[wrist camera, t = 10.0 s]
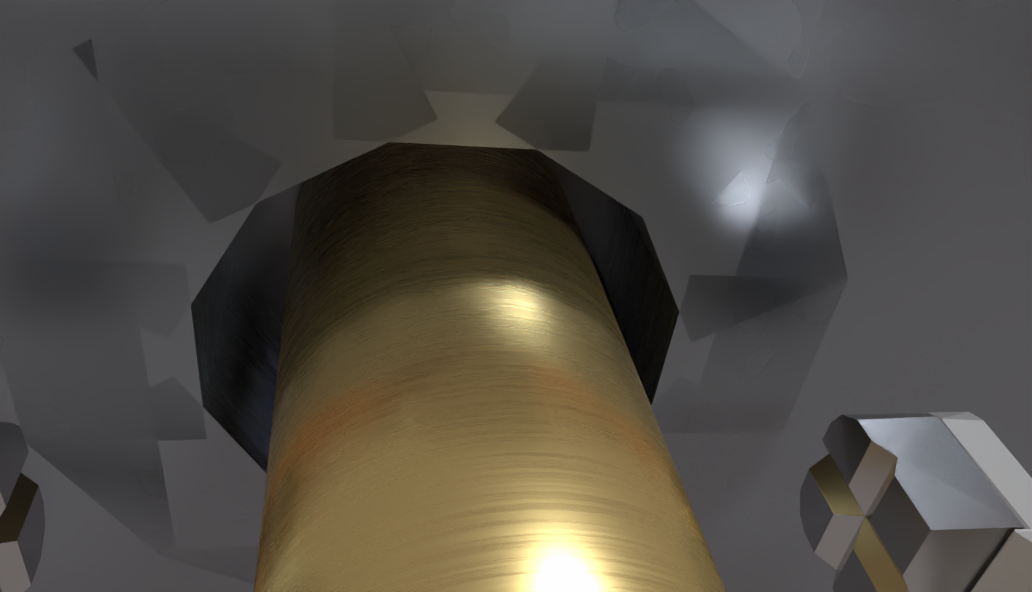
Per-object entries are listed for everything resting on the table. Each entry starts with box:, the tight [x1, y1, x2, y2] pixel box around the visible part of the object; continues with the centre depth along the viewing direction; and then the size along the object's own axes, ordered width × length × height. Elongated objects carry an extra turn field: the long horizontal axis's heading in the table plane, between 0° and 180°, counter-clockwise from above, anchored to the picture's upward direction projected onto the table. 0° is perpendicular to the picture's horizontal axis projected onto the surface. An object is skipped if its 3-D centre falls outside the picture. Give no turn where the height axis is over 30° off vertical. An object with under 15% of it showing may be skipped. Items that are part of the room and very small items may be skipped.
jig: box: [0, 0, 1032, 592], centre depth 12 cm, size 16×13×4 cm
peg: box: [254, 142, 726, 592], centre depth 9 cm, size 4×4×8 cm
